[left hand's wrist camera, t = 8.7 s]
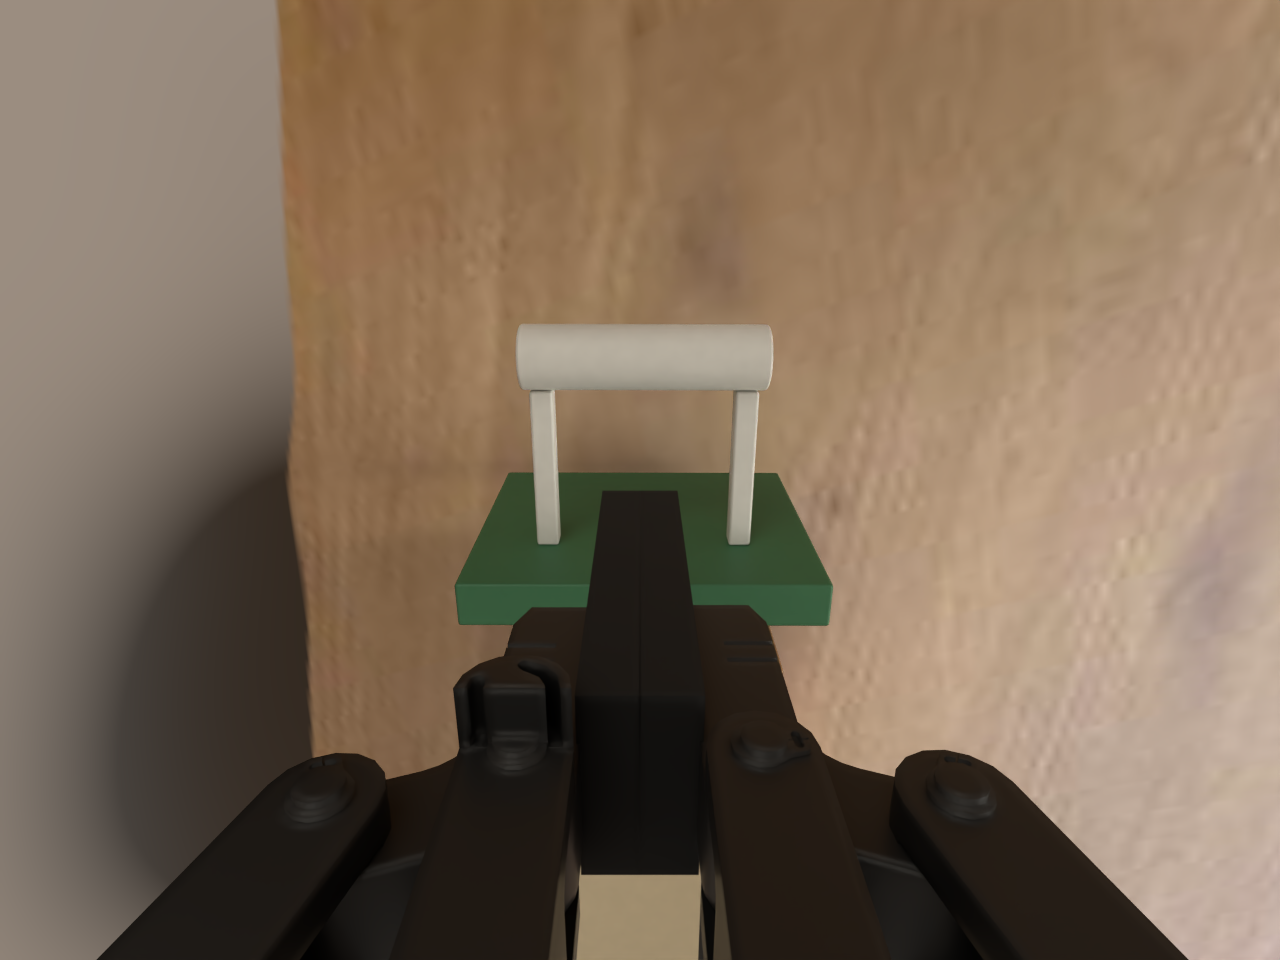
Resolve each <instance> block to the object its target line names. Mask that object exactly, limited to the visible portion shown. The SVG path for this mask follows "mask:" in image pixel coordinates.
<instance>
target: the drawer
mask: <svg viewBox="0 0 1280 960" xmlns="http://www.w3.org/2000/svg"><path fill="white" fill-rule="evenodd" d="M772 368H773V337H772V332H771V328H770V326H769V325H767V324H521V325H520V326H519V328H518V331H517V337H516V369H517V377H518V382H519V385H520V387H521V389H523V390H531V391H530V393H529V398H530V416H531V434H532V452H533V470H534V473H509V474H508V476H507V478H506V480H505V482H504V484H503V486H502V488H501V490H500V492H499V494H498V497H497V499H496V501H495V503H494V505H493V507H492V509H491V511H490V513H489V515H488V517H487V519H486V521H485V524H484V526H483V528H482V530H481V532H480V534H479V536H478V538H477V540H476V542H475V544H474V546H473V548H472V551H471V553H470V555H469V557H468V559H467V561H466V563H465V565H464V567H463V569H462V571H461V573H460V575H459V578H458V580H457V582H456V584H455V593H456V603H457V613H458V622H459V624H460V625H514V624H515V623H516V622H517V621H518V620H519V619H520V618H521V617H522V616H523V615H524V614H525V613H526V612H527V611H528V610H529V609H530V608H532V607H587V600H588V593H589V586H590V578H591V571H592V564H593V556H594V549H595V542H596V534H597V527H598V520H599V512H600V505H601V498H602V491H678V498H679V505H680V512H681V520H682V527H683V534H684V542H685V549H686V556H687V564H688V571H689V578H690V586H691V593H692V600H693V605H749V606H750V607H751V608H752V609H753V610H754V611H755V612H756V613H757V614H758V615H760V616H761V617H762V618H763V619H764V620H765V621H766V622H767V626H768V629H769V632H770V635H771V639H772V645H774V648H775V651H776V655H777V660H778V662H779V664H780V667H781V671H782V674H783V669H782V666H781V663H780V659H779V656H778V653H777V649H776V646H775V643H774V639H773V636H772V633H771V629H770V626H769V625H785V626H827V625H828V624H829V619H830V610H831V601H832V592H833V585H832V583H831V581H830V579H829V577H828V575H827V573H826V571H825V569H824V567H823V565H822V563H821V561H820V559H819V557H818V555H817V553H816V551H815V549H814V547H813V545H812V543H811V541H810V539H809V536H808V534H807V532H806V530H805V528H804V526H803V524H802V522H801V520H800V518H799V516H798V514H797V512H796V510H795V508H794V506H793V504H792V502H791V500H790V498H789V496H788V494H787V492H786V490H785V488H784V486H783V484H782V482H781V480H780V478H779V476H778V474H777V473H754V468H755V452H756V436H757V420H758V405H759V393H758V391H757V390H766V389H768V387H769V384H770V381H771V376H772ZM555 390H734V393H733V414H732V434H731V454H730V473H558V459H557V435H556V411H555Z"/></svg>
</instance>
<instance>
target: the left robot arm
mask: <svg viewBox="0 0 1280 960" xmlns="http://www.w3.org/2000/svg"><path fill="white" fill-rule="evenodd" d="M453 691H454V701H455V710H456V720H457V729H458V738H459V751H458V754H457V756H456V757H455V758H453V759H451V760H449V761H447V762H445V763H443V764H441V765H439V766H436V767H433V768H430V769H427V770H424V771H421V772H417V773H413V774H408V775H404V776H400V777H396V778H392V779H387V780H386V778H385V772H384V771H383V770H382V769H381V767H380V766H379V765H378V764H377V763H376V761H375V760H372V759H370V758H367V757H365V756H362V755H360V754H350V753H334V754H329V755H325V756H320V757H316V758H311V759H309V760H307V761H305V762H303V763H301V764H299V765H296V766H294V767H292V768H290V769H288V770H286V771H285V772H284V773H283V774H281V775H280V776H279V777H277V778H276V779H275V780H274V781H272V782H271V783H270V784H269V785H267V786H266V787H265V788H264V789H263V790H262V791H261V793H260V794H259V795H258V796H257V797H256V798H255V799H254V800H253V801H252V802H251V803H250V804H249V805H248V806H247V807H246V808H245V809H244V810H243V811H242V812H241V813H240V814H239V815H238V816H237V817H236V818H235V819H234V820H233V821H232V822H231V823H230V824H229V825H228V826H227V827H226V828H225V829H224V830H223V831H222V832H221V833H220V834H219V835H218V836H217V837H216V838H215V839H214V840H213V841H212V843H211V844H210V845H209V846H208V847H207V848H206V849H205V850H204V851H203V852H202V853H201V854H200V855H199V856H198V857H197V858H196V859H195V860H194V861H193V862H192V863H191V864H190V865H189V866H188V867H187V868H186V869H185V870H184V871H183V872H182V873H181V874H180V875H179V876H178V877H177V878H176V879H175V880H174V881H173V882H172V883H171V884H170V885H169V886H168V887H167V888H166V889H165V890H164V891H163V893H162V894H161V895H160V896H159V897H158V898H157V899H156V900H155V901H154V902H153V903H152V904H151V905H150V906H149V907H148V908H147V909H146V910H145V911H144V912H143V913H142V914H141V915H140V916H139V917H138V918H137V919H136V920H135V921H134V922H133V923H132V924H131V925H130V926H129V927H128V928H127V929H126V930H125V931H124V932H123V933H122V934H121V935H120V936H119V937H118V938H117V940H116V941H115V942H114V943H113V944H112V945H111V946H110V947H109V948H108V949H107V950H106V951H105V952H104V953H103V954H102V955H101V956H100V957H99V958H98V959H97V960H576V959H577V947H578V935H579V923H580V899H579V878H580V867H581V875H699V863H700V874H701V899H700V925H699V950H698V960H1188V959H1187V958H1186V957H1185V956H1184V955H1183V954H1182V953H1181V952H1180V951H1179V950H1178V949H1177V948H1176V947H1175V946H1174V945H1173V944H1172V943H1171V942H1170V941H1169V939H1168V938H1167V937H1166V936H1165V935H1164V934H1163V933H1162V932H1161V931H1160V930H1159V929H1158V928H1157V927H1156V926H1155V925H1154V924H1153V923H1152V922H1151V921H1150V920H1149V919H1148V918H1147V917H1146V916H1145V915H1144V914H1143V913H1142V912H1141V911H1140V910H1139V909H1138V908H1137V907H1136V906H1135V905H1134V904H1133V903H1132V902H1131V901H1130V900H1129V899H1128V898H1127V897H1126V896H1125V895H1124V894H1123V893H1122V892H1121V891H1120V890H1119V889H1118V888H1117V887H1116V886H1115V885H1114V884H1113V883H1112V882H1111V881H1110V880H1109V879H1108V878H1107V877H1106V876H1105V875H1104V874H1103V873H1102V872H1101V871H1100V870H1099V869H1098V868H1097V867H1096V866H1095V865H1094V863H1093V862H1092V861H1091V860H1090V859H1089V858H1088V857H1087V856H1086V855H1085V854H1084V853H1083V852H1082V851H1081V850H1080V849H1079V848H1078V847H1077V846H1076V845H1075V844H1074V843H1073V842H1072V841H1071V840H1070V839H1069V838H1068V837H1067V836H1066V835H1065V834H1064V833H1063V832H1062V831H1061V830H1060V829H1059V828H1058V827H1057V826H1056V825H1055V824H1054V823H1053V822H1052V821H1051V820H1050V819H1049V818H1048V817H1047V816H1046V815H1045V814H1044V813H1043V812H1042V811H1041V810H1040V809H1039V808H1038V807H1037V806H1036V805H1035V804H1034V803H1033V802H1032V801H1031V800H1030V799H1029V798H1028V797H1027V796H1026V795H1025V794H1024V793H1023V792H1022V791H1021V790H1020V788H1019V787H1018V786H1017V785H1016V784H1015V783H1014V782H1013V781H1011V780H1010V779H1009V778H1007V777H1006V776H1005V775H1003V774H1002V773H1001V772H1000V771H998V770H997V769H996V768H994V767H993V766H991V765H989V764H987V763H985V762H983V761H980V760H978V759H976V758H974V757H972V756H970V755H965V754H961V753H956V752H952V751H947V750H927V751H921V752H918V753H915V754H913V755H910V756H908V757H906V758H905V759H904V760H903V761H902V762H901V764H900V765H899V766H898V767H897V769H896V772H895V777H893V776H889V775H884V774H880V773H876V772H872V771H867V770H863V769H859V768H856V767H853V766H850V765H847V764H844V763H841V762H839V761H837V760H835V759H833V758H831V757H829V756H827V755H825V754H824V753H823V752H822V750H821V747H820V746H819V744H818V742H817V741H816V739H815V738H814V736H813V734H812V733H811V732H810V731H809V730H807V729H806V728H805V727H803V726H802V725H801V724H799V723H798V722H797V719H796V716H795V713H794V709H793V706H792V703H791V700H790V696H789V693H788V690H787V687H786V684H785V680H784V677H783V674H782V671H781V667H780V664H779V662H778V660H777V655H776V651H775V648H774V645H772V639H771V635H770V632H769V629H768V626H767V622H766V621H765V620H764V619H763V618H762V617H761V616H760V615H758V614H757V613H756V612H755V611H754V610H753V609H752V608H751V607H750V606H749V605H693V600H692V593H691V586H690V578H689V571H688V564H687V556H686V549H685V542H684V534H683V527H682V520H681V512H680V505H679V498H678V491H602V498H601V505H600V512H599V520H598V527H597V534H596V542H595V549H594V556H593V564H592V571H591V578H590V586H589V593H588V600H587V607H532V608H530V609H529V610H528V611H527V612H526V613H525V614H524V615H523V616H522V617H521V618H520V619H519V620H518V621H517V622H516V623H515V624H514V625H513V628H512V632H511V635H510V638H509V641H508V648H506V651H505V654H504V656H503V657H498V658H495V659H492V660H489V661H486V662H483V663H480V664H478V665H477V666H475V667H474V668H472V669H471V670H469V671H468V672H466V673H465V674H463V675H462V677H461V678H460V679H459V681H458V682H457V684H456V685H455V686H454V688H453Z"/></svg>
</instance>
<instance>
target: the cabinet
mask: <svg viewBox="0 0 1280 960" xmlns="http://www.w3.org/2000/svg"><path fill="white" fill-rule="evenodd" d="M579 899H580V923H579V935H578V947H577V959H576V960H698V950H699V925H700V899H701V874H700V863H699V875H581V867H580V878H579Z"/></svg>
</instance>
